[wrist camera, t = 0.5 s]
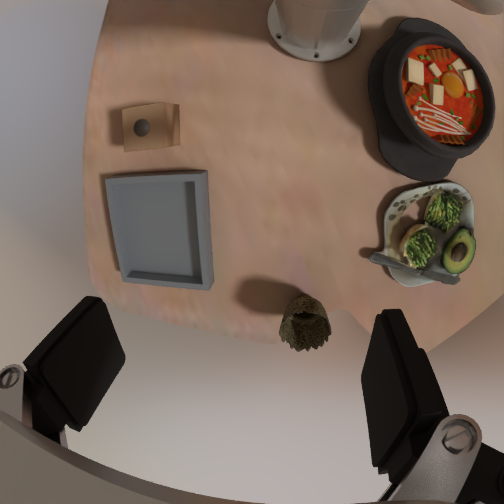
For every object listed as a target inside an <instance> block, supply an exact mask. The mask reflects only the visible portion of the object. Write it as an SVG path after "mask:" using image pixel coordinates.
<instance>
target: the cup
mask: <svg viewBox="0 0 504 504" xmlns="http://www.w3.org/2000/svg"><path fill="white" fill-rule="evenodd" d="M279 335H280V337H281V340H282V342H285V340H286V341H287V343H289V344H290V348H293V347H294V348H295V349H296V351H298V352H299V351H301V350H303V349H304V348H305V349H306V350H307V351H309V350H310V348H311V346H312V347H313V348H314V349H317V348H318V346H321V347H322V346H323V344H324V340H325V341H326V342H327V341H328V336H329V335H331V326H330V323H329V320H328V317H327V314H326V311H325V309H324V307H323V305H322V304H321V303H320V302H319V301H318V300H316V299H314V298H312V297H311V296H309V295H302V296H299V297H298V298H297V299H295V300H293V301H292V302H291V303H290V304H289V305H288V306H287V308H286V310H285V313H284V316H283V319H282V323H281V326H280V331H279Z"/></svg>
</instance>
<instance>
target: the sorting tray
mask: <svg viewBox="0 0 504 504" xmlns="http://www.w3.org/2000/svg"><path fill="white" fill-rule="evenodd" d="M105 184H106V192H107V200H108V207H109V213H110V220H111V226H112V231H113V237H114V242H115V248H116V253H117V258H118V262H119V267H120V271H121V276H122V280H123V282H130V283H138V284H147V285H157V286H166V287H176V288H186V289H197V290H210V288H211V286H212V284H213V282H214V272H213V259H212V244H211V229H210V211H209V192H208V171H174V172H154V173H138V174H124V175H114V176H112V177H109V178H106V179H105Z"/></svg>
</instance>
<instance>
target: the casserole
mask: <svg viewBox="0 0 504 504" xmlns="http://www.w3.org/2000/svg"><path fill="white" fill-rule="evenodd" d="M368 91H369V98H370V102H371V105H372V108H373V112H374V115H375V119H376V122H377V130H378V143H379V150H380V152H381V154H382V156H383V159H384V160H385V161H386V162H387V163H388V164H389V165H390V166H391V167H392V168H393V169H395V170H396V171H398V172H399V173H400V174H402V175H404V176H406V177H408V178H411V179H414V180H418V181H422V182H434V181H439V180H442V179H443V178H444V177H446V176H447V175H448V174H449V172H450V171H451V169H452V167H453V166H454V164H455V162H456V161H457V159H459V158H463V157H465V156H468V155H470V154H472V153H473V152H474V151H475V150H477V149H478V148H479V147H480V145H481V144H482V143H483V142H484V141H485V140H486V138H487V137H488V136H489V133H490V131H491V129H492V127H493V123H494V118H495V99H494V93H493V89H492V86H491V83H490V81H489V78H488V76H487V74H486V72H485V70H484V69H483V67H482V65H481V64H480V63H479V61H478V60H477V59H476V58H475V56H474V55H472V54H471V53H470V52H469V51H468V50H467V49H466V48H465V46H464V45H463V44H462V43H461V41H460V40H459V39H458V38H457V37H456V36H455V35H453V34H452V33H451V32H450V31H449V30H447V29H445V28H444V27H442V26H440V25H439V24H436V23H434V22H432V21H429V20H426V19H421V18H407V19H405V20H403V21H401V23H400V24H399V26H398V27H397V29H396V31H395V32H394V34H393V36H392V37H391V38H390V39H389V40H388V41H387V42H386V43H385V44H384V45H383V46H382V47H381V48H380V49H379V50H378V51H377V53H376V54H375V56H374V58H373V60H372V62H371V66H370V69H369V74H368Z"/></svg>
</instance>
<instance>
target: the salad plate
mask: <svg viewBox="0 0 504 504" xmlns="http://www.w3.org/2000/svg"><path fill="white" fill-rule="evenodd" d="M427 196H430V197H431V198H430V200H429V202H428V205H427V207H426V210H425V214H424V217H423V219H422V221H421V222H420V223H418V224H415V225H413V226H410V227H409V228H408V229H407V230H405V229H404V228H403V226H402V223H401V220H400V217H401V216H402V214H403V212H404V211H405V210H406V209H407V208H408V207H409V206H410V205H411V204H412V203H413V202H415V201H417V200H418V199H421V198H424V197H427ZM475 249H476V241H475V238H474V206H473V200H472V197H471V195H470V194H469V192H468V191H467V190H466V189H465V188H463V187H462V186H461V185H459V184H457V183H454V182H448V181H442V182H438V183H435V184H431V185H426V186H420V187H417V188H413V189H410V190H406V191H403V192H402V193H400V194H399V195H398V196H397V197H395V198H394V199H393V200H392V202H391V203H390V204H389V206H388V208H387V209H386V211H385V213H384V249H383V250H382V251H381V252H372V253H371V254H370V256H369V260H370V261H371V262H372V263H375V264H379V265H383V266H387V268H388V270H389V272H390V274H391V276H392V277H393V278H394V279H395V280H396V281H398V282H399V283H400V284H402V285H404V286H407V287H411V286H418V285H422V284H426V283H430V282H434V281H441V282H442V283H444V284H451V285H455V284H457V283H458V282H459V281H460V278H459V274H460V273H462V272H464V271H465V270H466V269H467V268H468V267H469V265H470V264H471V262H472V260H473V257H474V254H475Z"/></svg>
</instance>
